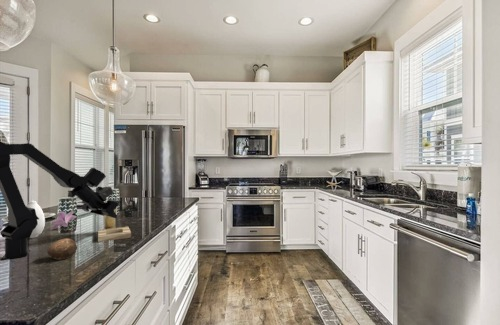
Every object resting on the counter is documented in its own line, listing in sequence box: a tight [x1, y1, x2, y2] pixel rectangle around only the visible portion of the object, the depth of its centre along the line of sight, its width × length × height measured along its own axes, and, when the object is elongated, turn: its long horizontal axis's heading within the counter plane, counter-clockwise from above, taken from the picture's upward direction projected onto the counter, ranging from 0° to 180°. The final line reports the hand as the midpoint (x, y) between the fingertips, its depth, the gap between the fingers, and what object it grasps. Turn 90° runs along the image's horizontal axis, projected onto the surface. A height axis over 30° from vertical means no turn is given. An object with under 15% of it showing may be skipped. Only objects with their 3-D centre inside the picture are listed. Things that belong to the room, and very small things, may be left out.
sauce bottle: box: [25, 194, 46, 239], centre depth 109 cm, size 8×8×18 cm
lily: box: [50, 210, 78, 230], centre depth 123 cm, size 11×11×9 cm
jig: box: [97, 226, 132, 243], centre depth 111 cm, size 12×12×2 cm
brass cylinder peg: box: [103, 209, 116, 229], centre depth 118 cm, size 4×4×13 cm
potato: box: [46, 238, 78, 261], centre depth 87 cm, size 8×8×6 cm
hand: (112, 216), depth 119 cm, fingers closed on brass cylinder peg, 4 cm apart
